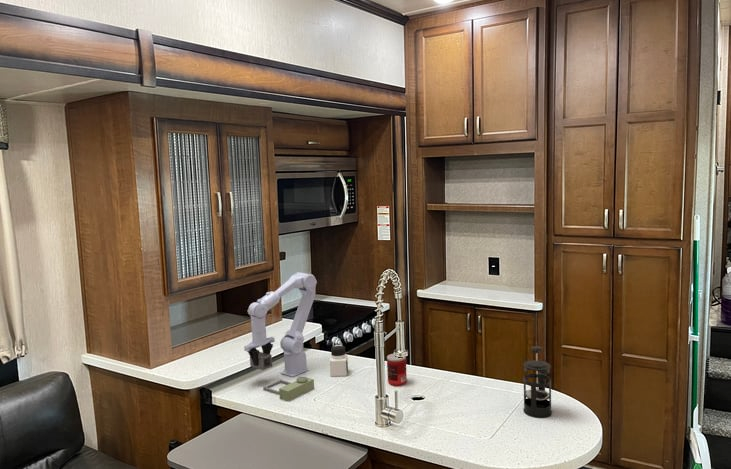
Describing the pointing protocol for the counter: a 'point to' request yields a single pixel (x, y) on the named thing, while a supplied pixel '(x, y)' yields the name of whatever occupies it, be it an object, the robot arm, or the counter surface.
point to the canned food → (396, 370)
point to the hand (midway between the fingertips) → (261, 363)
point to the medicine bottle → (338, 361)
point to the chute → (262, 361)
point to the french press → (537, 395)
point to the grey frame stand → (292, 388)
